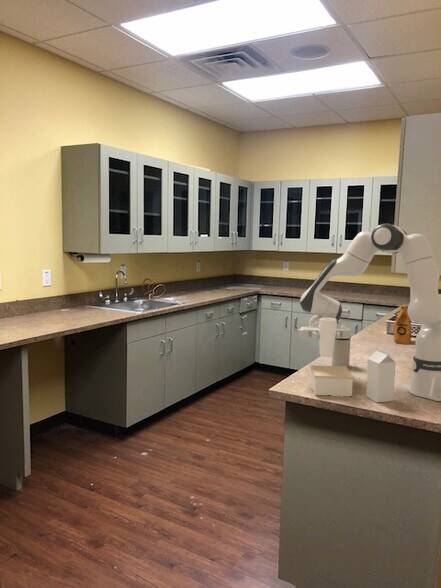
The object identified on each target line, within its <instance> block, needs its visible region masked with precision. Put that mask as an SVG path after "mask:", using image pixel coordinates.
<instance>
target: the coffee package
mask: <svg viewBox="0 0 441 588" xmlns="http://www.w3.org/2000/svg"><path fill="white" fill-rule="evenodd" d="M400 306H401V307H400V311H398V313H397V314H396V316H395V320H394V324H393V340H394V342H395V343H394V344H399V345H410V343H411V341H412V323H411V319H410V318H409V316H408V312H407V309H408V308H407V305H406V304H404V303H403V304H401V305H400Z"/></svg>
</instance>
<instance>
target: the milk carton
mask: <svg viewBox="0 0 441 588" xmlns="http://www.w3.org/2000/svg"><path fill="white" fill-rule="evenodd" d="M366 373H367V374H366V390H365V391H366V393H365V396H366V398H368V399H370V400H371V401H373V402H375V403H377V404H378V403H386V402H387V403H388V402H393V401H394V395H395V394H394V393H395V382H396V381H395V376H396V361H395V360H394V359H392V357H391V355H390V354H389V352H388V351H386V350H383V349H381V348H378V347H376V350H375V351H374V352H373V354H371V355H370V356H369V357H368V359H367V372H366Z"/></svg>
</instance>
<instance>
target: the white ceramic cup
mask: <svg viewBox="0 0 441 588" xmlns="http://www.w3.org/2000/svg"><path fill="white" fill-rule="evenodd" d="M336 327H337V319H334V318H320V320H319V340H318V344H319V355H320V357H323V358H331V357H332V356H333V349H334V342H335V335H336Z"/></svg>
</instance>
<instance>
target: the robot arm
mask: <svg viewBox="0 0 441 588" xmlns="http://www.w3.org/2000/svg"><path fill="white" fill-rule="evenodd" d="M378 252H383V253H389V254H398V253H399V254H400V255H401V258H402V260H403V263H404V267H405V272H406V274H407V279H408V281H409V288H410V289H409V290H410V291H409V293H410V295H409V299H410V300H409V304H408V305H407V306H408V307H407V308H406V309H407V312H408V316H409V318H410V321H412V322H413V323H415V324H417V325H421V326H420V329H419V332H418V333H417V334H416V338H415V346H414V348H415V349H414V356H413V360H412V376H411V380H410V384H409V387H408V389H407V391H408V392H409V393H410V394H411V395H414V396H417V397H420V398H426V399H429V400H430V401H436V402H441V293H439V280H440V273H439V272H440V271H439V269H438V266H437V263H436V259H435V256H434V253H433V250H432V247H431V245H430V243H429V241H428V239H427V238H426V236H425V235H424V234H422V233H411V234H407V232H406V231H405V230H404V229H402V228H401V227H399V226H397V225H394V224H391V223H381V224H378V225H377V226H376V227H375V228H373V230H372V232H370V231H360V232H358V233H357V234H356V236H355V237H353V239H352V241H351V242H350V244H349V245H348V247H347V248H346V250H345V252H344V253H343V254H342V255H341V256H339V258H337V259H336V258H334V259H331V261H329V263H328V264H327V265H326V266H325V267H324V268H323V270H322V271H321V272H320V273H319V275H317V277H316V279H315V280H314V281H313V282H312V283H311V285H310V286H309V287H308V288H307V290H305V291H304V293H302V295H301V297H300V299H299V306H300V307H301V309H302V310H303V311H305V312H307V313H311V314H313V315H314V316H312V317H311V318H310V319H309V321H308V326H301V327H300V328H298V329H297V331H298V333H299V337H300V338H301V339H302V338H303V339H316V340H317V341H319V320H320V318H334V319H337V327H336V335H335V339H339V338H341V339H349V338H350V336H351V329H350V328H349V327H348V326H346V325H344V323H343V322H339V320H340V319H341V316H342V314H343V308H342V303H341V302H340V301H338V300H336V299H334V298H332V297H329V296H327V295H325V294H323V293H322V292H320V291H321V289H322V288H323V287H324V286H325V284H326V283H327V282H328V281H329V279H331V278H333V277H336V276H340V277H341V276H343V277H355V276H356V277H357V276H359V275H362V274H364V272H365V271H366V270H367V268H368V267H369V265H370V263H371V261H372V260H373V258H374V256H375V255H376V254H377V253H378ZM350 339H351V338H350Z"/></svg>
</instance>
